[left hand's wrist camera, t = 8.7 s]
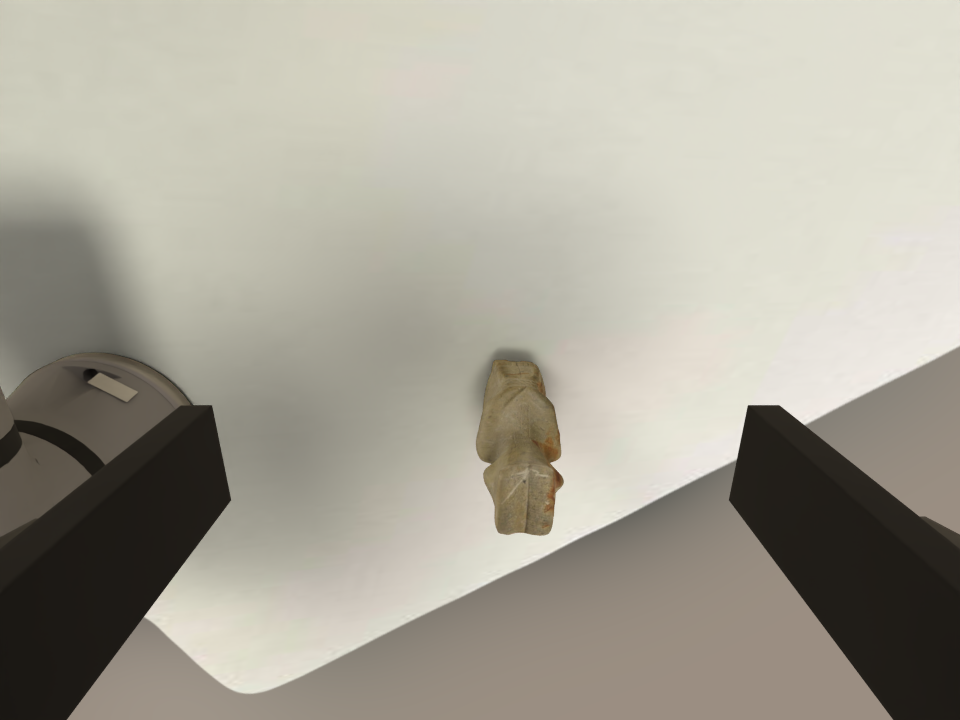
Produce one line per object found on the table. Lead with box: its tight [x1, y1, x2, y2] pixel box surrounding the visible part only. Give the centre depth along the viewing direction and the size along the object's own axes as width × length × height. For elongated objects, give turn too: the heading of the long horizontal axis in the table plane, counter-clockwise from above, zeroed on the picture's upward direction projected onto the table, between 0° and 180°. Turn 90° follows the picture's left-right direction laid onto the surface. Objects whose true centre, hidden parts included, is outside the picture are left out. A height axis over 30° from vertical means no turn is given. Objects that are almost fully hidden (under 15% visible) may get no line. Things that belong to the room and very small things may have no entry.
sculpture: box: [476, 360, 564, 536], centre depth 36 cm, size 6×7×15 cm
